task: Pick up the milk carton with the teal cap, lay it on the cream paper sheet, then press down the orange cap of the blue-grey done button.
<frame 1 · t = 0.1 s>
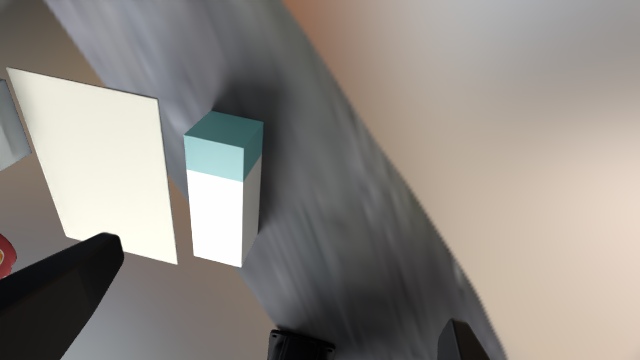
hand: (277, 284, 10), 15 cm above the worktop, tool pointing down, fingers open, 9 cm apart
paper sheet: (104, 179, 29), on the worktop
milk carton: (236, 178, 27), on the worktop
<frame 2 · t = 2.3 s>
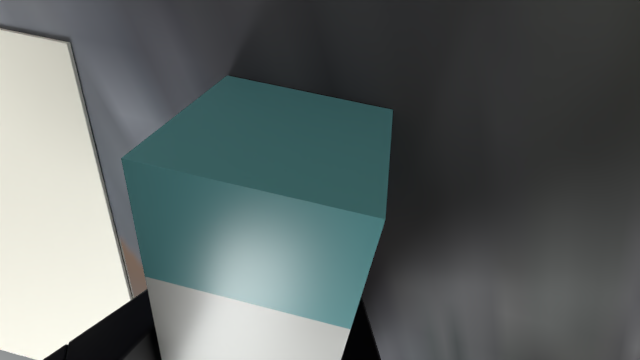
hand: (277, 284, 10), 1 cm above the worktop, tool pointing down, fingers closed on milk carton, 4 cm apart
milk carton: (287, 256, 11), on the worktop, touching gripper
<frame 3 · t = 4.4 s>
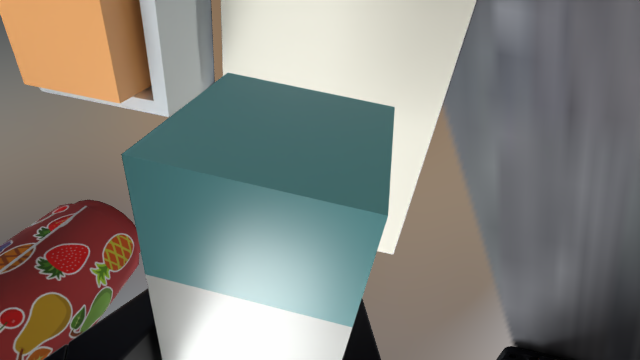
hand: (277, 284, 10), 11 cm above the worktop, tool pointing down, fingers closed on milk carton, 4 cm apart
smoothie: (109, 228, 28), on the worktop
button housing: (153, 11, 18), on the worktop
paper sheet: (324, 122, 19), on the worktop
milk carton: (288, 255, 11), point 10 cm above the worktop, touching gripper
done button: (85, 31, 14), point 5 cm above the worktop, slide at 0.0 cm
when the fingers open (2 cm above the worktop, at t = 6.3 s): milk carton drops 1 cm, resting on paper sheet.
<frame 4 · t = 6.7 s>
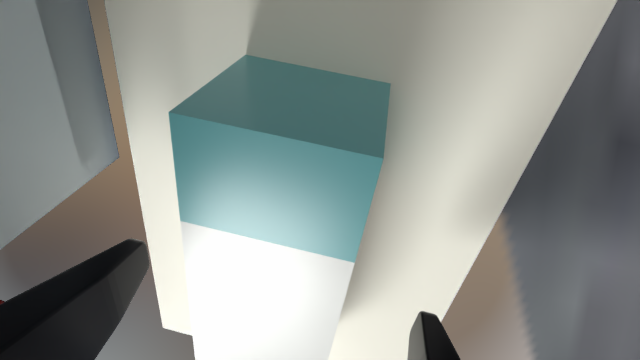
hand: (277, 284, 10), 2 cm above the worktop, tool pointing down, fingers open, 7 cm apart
button housing: (0, 42, 10), on the worktop
paper sheet: (298, 223, 12), on the worktop
milk carton: (296, 223, 12), resting on paper sheet
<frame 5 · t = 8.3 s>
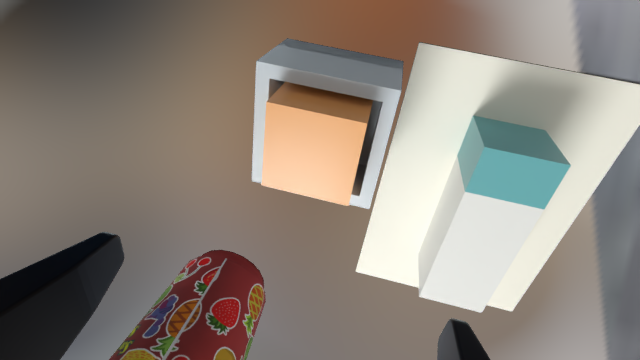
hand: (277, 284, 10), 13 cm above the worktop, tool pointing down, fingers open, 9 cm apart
smoothie: (231, 273, 30), on the worktop
button housing: (334, 105, 20), on the worktop
paper sheet: (473, 201, 22), on the worktop
milk carton: (473, 200, 21), resting on paper sheet
done button: (317, 142, 16), point 5 cm above the worktop, slide at 0.0 cm
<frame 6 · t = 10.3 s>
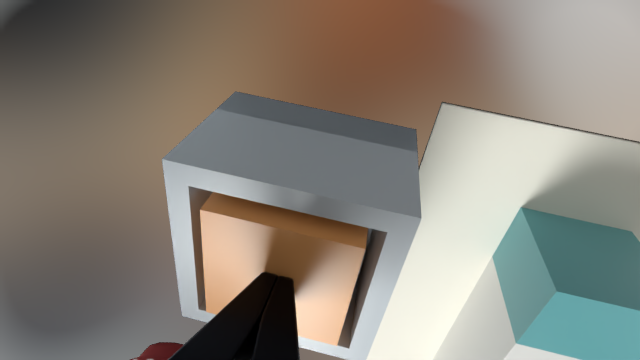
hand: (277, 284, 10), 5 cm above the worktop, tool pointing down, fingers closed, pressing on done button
button housing: (312, 184, 14), on the worktop
paper sheet: (512, 310, 15), on the worktop
milk carton: (511, 310, 15), resting on paper sheet
done button: (288, 247, 11), point 3 cm above the worktop, slide at 1.2 cm, touching gripper
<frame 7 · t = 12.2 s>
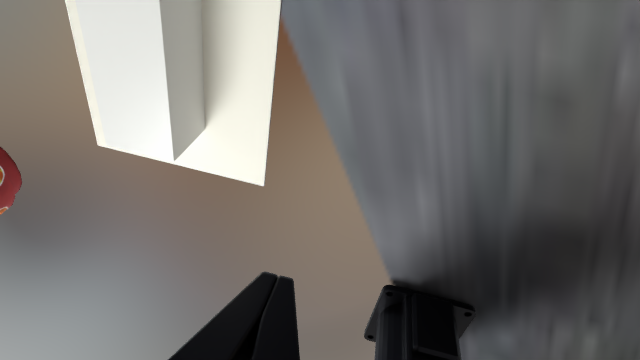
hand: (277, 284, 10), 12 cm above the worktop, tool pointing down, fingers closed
paper sheet: (170, 35, 19), on the worktop
milk carton: (168, 34, 18), resting on paper sheet
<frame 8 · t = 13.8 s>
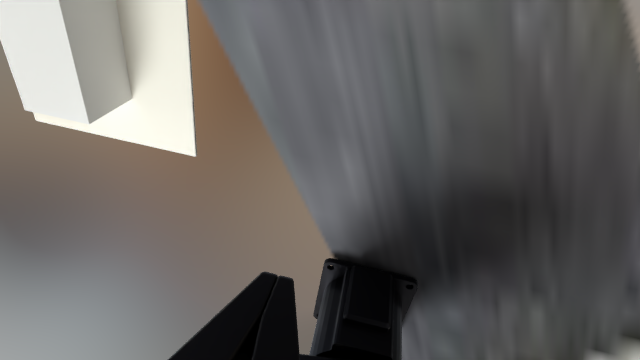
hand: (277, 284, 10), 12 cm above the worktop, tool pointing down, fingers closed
paper sheet: (86, 2, 19), on the worktop
milk carton: (84, 0, 19), resting on paper sheet
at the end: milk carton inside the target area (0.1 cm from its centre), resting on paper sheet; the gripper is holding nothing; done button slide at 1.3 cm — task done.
